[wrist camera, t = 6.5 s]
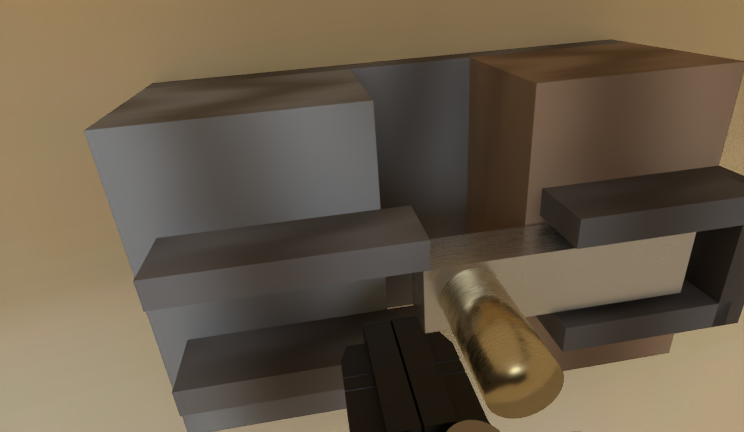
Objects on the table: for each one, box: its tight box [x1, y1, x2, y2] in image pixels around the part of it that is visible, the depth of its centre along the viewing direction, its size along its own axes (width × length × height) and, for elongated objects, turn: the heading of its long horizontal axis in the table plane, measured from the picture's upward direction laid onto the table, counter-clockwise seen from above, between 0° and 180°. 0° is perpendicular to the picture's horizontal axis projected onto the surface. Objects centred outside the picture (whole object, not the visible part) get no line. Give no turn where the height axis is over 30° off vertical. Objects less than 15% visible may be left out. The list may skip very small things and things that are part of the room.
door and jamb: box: [84, 40, 744, 432], centre depth 19 cm, size 20×12×10 cm, turn 94°
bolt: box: [411, 223, 696, 418], centre depth 14 cm, size 9×2×6 cm, turn 94°
